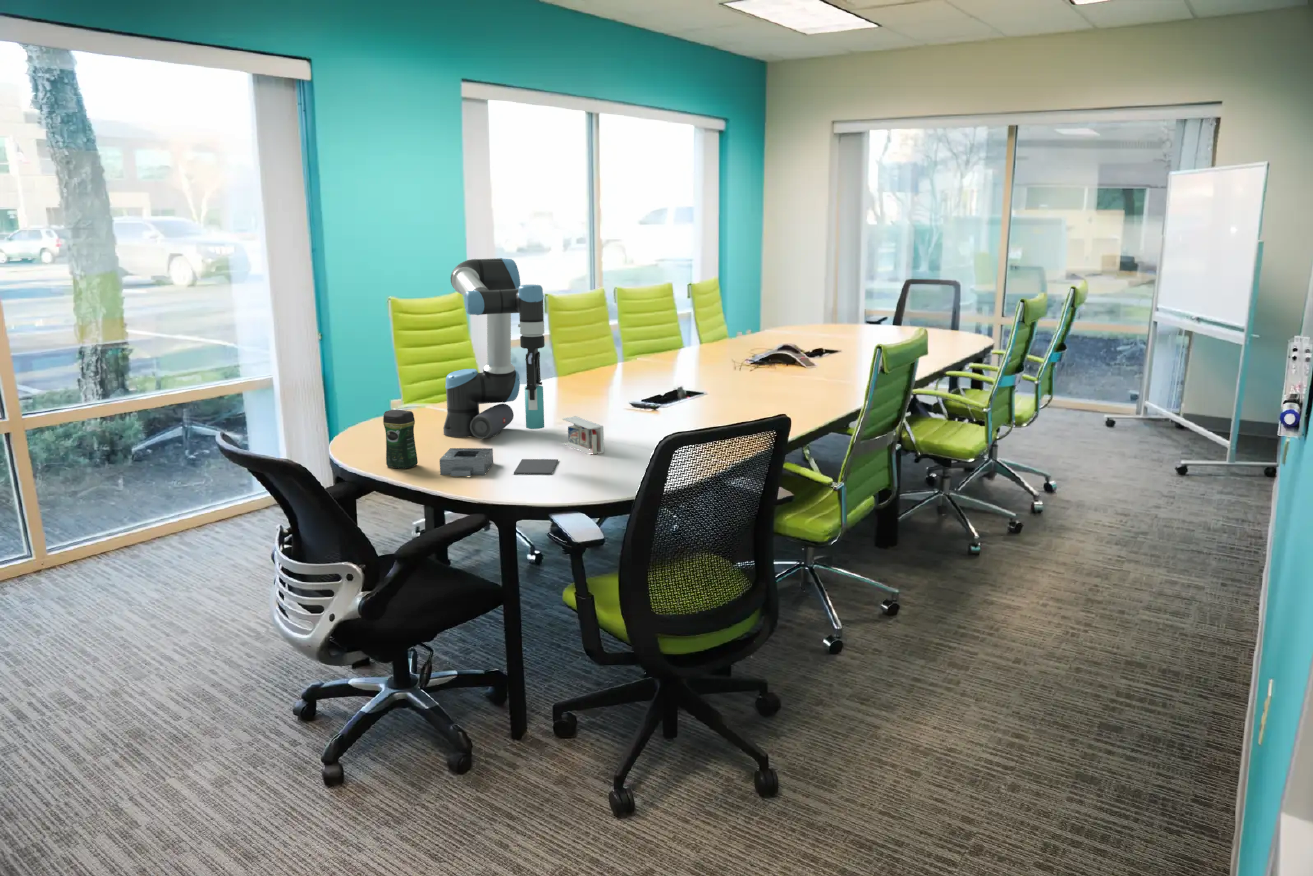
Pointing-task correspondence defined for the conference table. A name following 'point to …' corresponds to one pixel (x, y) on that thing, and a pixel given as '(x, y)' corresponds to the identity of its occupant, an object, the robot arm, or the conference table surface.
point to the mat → (536, 466)
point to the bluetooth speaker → (491, 421)
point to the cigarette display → (585, 435)
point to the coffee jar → (400, 439)
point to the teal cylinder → (535, 416)
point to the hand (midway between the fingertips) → (534, 407)
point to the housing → (466, 461)
